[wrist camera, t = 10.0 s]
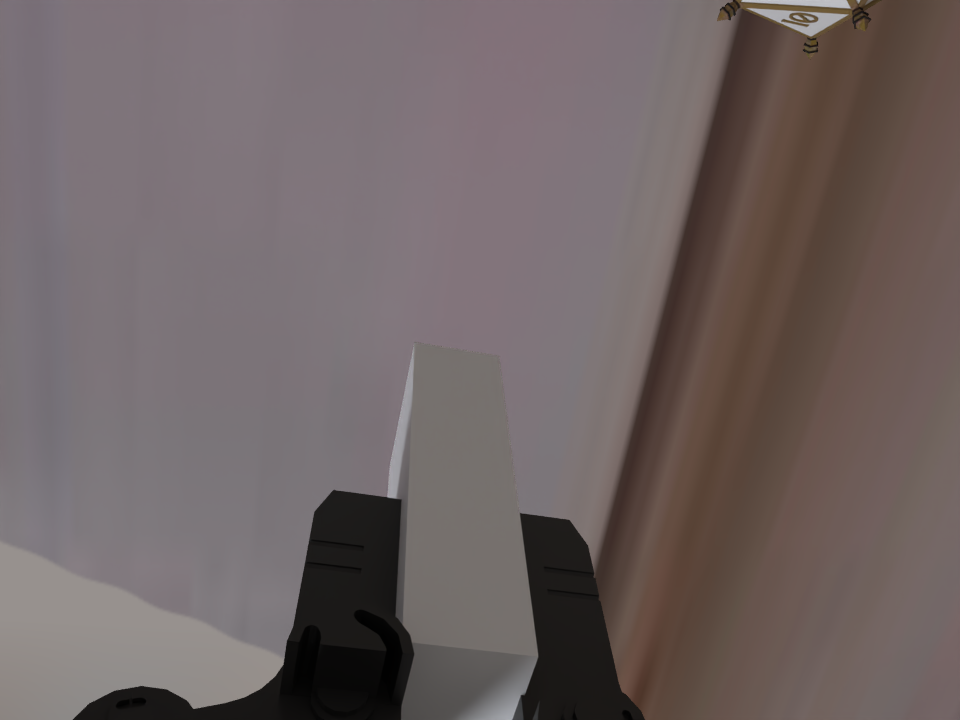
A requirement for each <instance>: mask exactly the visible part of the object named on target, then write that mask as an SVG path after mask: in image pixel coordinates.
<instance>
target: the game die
mask: <svg viewBox="0 0 960 720" xmlns="http://www.w3.org/2000/svg"><path fill="white" fill-rule="evenodd" d="M880 1H882V0H733V2H731V3H727V4H726V5H725V7H722V8H721V9H720V13H719V16H718V19H717V21H719V20H726V19H728V20H731V17H732V16H733V15H734V16H735V15H736V13H735V12H736V11H737V9H738V8H742V9H744V10H746V11H749V12H751V13H753V14H755V15H758V16H760V17H762V18H764V19H767V20H769V21H771V22H774V23H776V24H778V25H780V26H783V27H785V28H787V29H790V30H792V31H794V32H796V33H799V34H801V35H803V36H806V37H807V42H806V43H805V44H804V45H805V49H803V51H804V52H805V53H806V54H807V56H808V58H809V59H811V58H812V57H813V55H814V54H815V53H816V52H818V49H817V46H818V42H817V41H816V38H817V37H819V36H821V35H823V34H824V33H826V32H828V31H830V30H831V29H833V28H835V27H837V26H838V25H840V24H842V23H844V22H845V21H847V20H849V19H851V18H852V17H853V24H854V29H860V30H863V31H866V28H867V25H868V23H869V22H870V20H871V18H869V17H868V15H869V14H868V13H866V12H864V10H866V9H868V8H870V7H871V6H873V5H875V4H876V3H878V2H880Z"/></svg>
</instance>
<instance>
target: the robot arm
mask: <svg viewBox="0 0 960 720" xmlns="http://www.w3.org/2000/svg"><path fill="white" fill-rule="evenodd" d="M593 576H594V571H593V566H592V562H591V557H590V553H589V548H588V545H587V544H586V542H585V541H584V540H583V538H582V537H581V535H580V534H579V533H578V531H577V530H576V529H575V527H574V526H573V524H572V523H571V522H570V520H566V519H559V518H551V517H544V516H537V515H529V514H522V513H520V512H519V504H518V497H517V489H516V481H515V474H514V466H513V458H512V451H511V443H510V435H509V427H508V420H507V412H506V404H505V397H504V389H503V381H502V374H501V366H500V358H499V356H497V355H491V354H485V353H479V352H473V351H467V350H460V349H454V348H448V347H442V346H436V345H430V344H424V343H417V342H415V343H414V348H413V353H412V358H411V363H410V368H409V373H408V378H407V383H406V388H405V393H404V398H403V403H402V408H401V413H400V418H399V423H398V428H397V433H396V438H395V443H394V448H393V453H392V458H391V463H390V470H389V484H388V497H381V496H373V495H366V494H359V493H351V492H344V491H336V490H333V491H332V492H331V493H330V495H329V496H328V497H327V498H326V499H325V500H324V501H323V503H322V504H321V505H320V506H319V507H318V508H317V510H316V511H315V512H314V518H313V523H312V528H311V534H310V539H309V545H308V550H307V555H306V561H305V567H304V572H303V577H302V582H301V588H300V593H299V599H298V604H297V609H296V615H295V620H294V626H293V629H292V631H291V633H290V635H289V638H288V640H287V645H286V652H285V659H284V665H283V666H282V668H281V669H280V671H279V672H278V673H277V675H276V676H275V677H274V678H273V679H272V680H271V681H270V682H269V683H267V684H266V685H265V686H264V687H263V688H262V689H260V690H258V691H256V692H254V693H252V694H250V695H249V696H247V697H245V698H241V699H238V700H235V701H231V702H228V703H224V704H218V705H213V706H208V707H203V708H198V709H193V708H192V707H191V706H190V704H189V703H188V702H187V700H185V699H183V698H181V697H179V696H178V695H176V694H174V693H172V692H170V691H168V690H166V689H159V688H151V687H144V686H139V687H134V688H128V689H122V690H117V691H113V692H111V693H109V694H107V695H105V696H103V697H101V698H100V699H98V700H96V701H93V702H91V703H89V704H88V705H87V706H86V707H85V708H84V709H83V710H82V711H81V712H80V713H79V714H78V715H77V716H76V717H75V718H74V719H73V720H645V719H644V717H643V714H642V712H641V711H640V709H639V708H638V707H637V706H636V705H635V704H634V703H633V702H632V701H631V700H630V698H629V697H628V696H627V695H626V694H624V693H623V692H622V691H621V688H620V685H619V682H618V678H617V673H616V669H615V664H614V660H613V655H612V651H611V647H610V642H609V638H608V633H607V629H606V624H605V620H604V615H603V611H602V606H601V602H600V601H599V600H598V598H599V593H598V588H597V584H596V580H595V578H594V577H593Z"/></svg>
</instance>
